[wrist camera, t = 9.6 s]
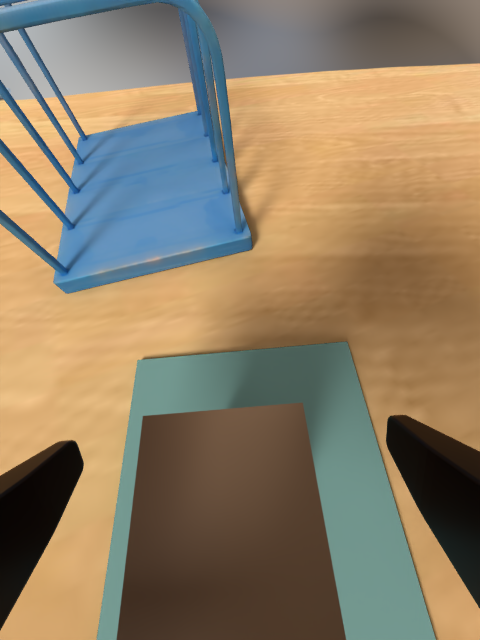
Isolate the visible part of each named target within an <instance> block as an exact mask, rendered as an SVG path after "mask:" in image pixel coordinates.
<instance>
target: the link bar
mask: <svg viewBox="0 0 480 640" xmlns="http://www.w3.org/2000/svg"><path fill="white" fill-rule="evenodd" d="M117 640H346V636H345V630H344V625H343V619H342V614H341V608H340V603H339V598H338V592H337V587H336V581H335V576H334V570H333V565H332V559H331V554H330V549H329V543H328V538H327V532H326V527H325V521H324V516H323V510H322V505H321V499H320V494H319V489H318V483H317V478H316V472H315V467H314V461H313V456H312V450H311V445H310V439H309V434H308V429H307V423H306V418H305V412H304V407H303V403H291V404H279V405H267V406H255V407H244V408H232V409H220V410H208V411H196V412H184V413H172V414H160V415H148V416H143V419H142V427H141V436H140V444H139V453H138V461H137V470H136V478H135V487H134V495H133V504H132V512H131V521H130V529H129V538H128V546H127V555H126V563H125V572H124V580H123V589H122V597H121V606H120V614H119V623H118V631H117Z"/></svg>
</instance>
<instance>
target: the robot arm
mask: <svg viewBox="0 0 480 640" xmlns="http://www.w3.org/2000/svg"><path fill="white" fill-rule="evenodd" d="M386 443H387V447H388V450H389V452H390V454H391V456H392V458H393V460H394V462H395V464H396V465H397V467H398V469H399V471H400V473H401V475H402V477H403V479H404V481H405V483H406V485H407V487H408V489H409V491H410V493H411V495H412V497H413V499H414V501H415V503H416V505H417V507H418V509H419V510H420V512H421V514H422V515H423V517H424V519H425V521H426V522H427V524H428V525H429V527H430V529H431V530H432V532H433V534H434V535H435V537H436V538H437V540H438V542H439V543H440V545H441V547H442V548H443V550H444V551H445V553H446V555H447V556H448V558H449V560H450V561H451V563H452V564H453V566H454V568H455V569H456V571H457V572H458V574H459V576H460V577H461V579H462V581H463V582H464V584H465V585H466V587H467V589H468V590H469V592H470V594H471V595H472V597H473V598H474V600H475V602H476V603H477V605H478V607H479V608H480V452H479V451H477V450H475V449H473V448H471V447H469V446H467V445H465V444H463V443H461V442H459V441H457V440H455V439H453V438H451V437H449V436H447V435H445V434H443V433H441V432H439V431H437V430H435V429H433V428H431V427H429V426H427V425H425V424H423V423H421V422H419V421H417V420H415V419H413V418H411V417H409V416H406V415H394V416H390V417H389V418H388V421H387V435H386ZM83 466H84V463H83V459H82V456H81V453H80V450H79V448H78V445H77V443H76V442H75V441H73V440H68V441H60V442H57V443H55V444H54V445H52V446H50V447H49V448H47V449H45V450H43V451H42V452H40V453H38V454H37V455H35V456H33V457H31V458H30V459H28V460H26V461H25V462H23V463H21V464H20V465H18V466H16V467H14V468H13V469H11V470H9V471H8V472H6V473H4V474H2V475H1V476H0V630H1V628H2V626H3V625H4V623H5V621H6V619H7V617H8V616H9V614H10V612H11V610H12V608H13V607H14V605H15V603H16V601H17V599H18V597H19V596H20V594H21V592H22V590H23V588H24V587H25V585H26V583H27V581H28V579H29V577H30V576H31V574H32V572H33V570H34V568H35V567H36V565H37V563H38V561H39V559H40V558H41V556H42V554H43V552H44V550H45V548H46V547H47V545H48V543H49V541H50V539H51V537H52V535H53V534H54V532H55V529H56V527H57V525H58V523H59V521H60V519H61V517H62V515H63V512H64V510H65V508H66V506H67V504H68V502H69V499H70V497H71V495H72V493H73V491H74V488H75V486H76V484H77V482H78V480H79V478H80V475H81V473H82V471H83Z"/></svg>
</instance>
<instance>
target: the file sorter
mask: <svg viewBox="0 0 480 640" xmlns="http://www.w3.org/2000/svg"><path fill="white" fill-rule="evenodd" d="M21 1H26V0H0V6H2V5H4V6H5V8H0V43H1V45H2V46H3V48H4V49H5V51H6V53H7V54H8V56H9V57H10V59H11V60H12V62H13V63H14V65H15V66H16V68H17V70H18V71H19V72H20V74H21V76H22V77H23V79H24V80H25V82H26V83H27V85H28V87H29V88H30V90H31V91H32V93H33V94H34V96H35V97H36V99H37V101H38V102H39V104H40V105H41V107H42V108H43V110H44V111H45V113H46V114H47V116H48V117H49V119H50V120H51V122H52V124H53V125H54V127H55V128H56V130H57V131H58V133H59V134H60V136H61V137H62V139H63V140H64V142H65V144H66V145H67V147H68V148H69V150H70V151H71V153H72V154H73V156H74V157H75V161H74V166H73V171H72V177H71V178H70V177H69V176H68V174H67V173H66V172H65V170H64V169H63V167H62V166H61V165H60V163H59V162H58V160H57V159H56V158H55V156H54V155H53V154H52V152H51V151H50V149H49V148H48V147H47V145H46V144H45V142H44V141H43V139H42V138H41V137H40V135H39V134H38V133H37V131H36V130H35V129H34V127H33V126H32V124H31V123H30V121H29V120H28V119H27V117H26V116H25V115H24V113H23V112H22V110H21V109H20V108H19V106H18V105H17V103H16V102H15V100H14V99H13V98H12V96H11V94H10V93H9V92H8V90H7V89H6V87H5V86H4V85H3V83H2V82H1V80H0V95H1V96H2V97H3V99H4V100H5V101H6V103H7V104H8V106H9V107H10V108H11V110H12V111H13V112H14V114H15V115H16V116H17V118H18V119H19V120H20V122H21V123H22V124H23V126H24V127H25V128H26V130H27V131H28V132H29V134H30V135H31V136H32V138H33V139H34V140H35V142H36V143H37V144H38V146H39V147H40V148H41V150H42V151H43V152H44V154H45V155H46V156H47V158H48V159H49V160H50V162H51V163H52V164H53V166H54V167H55V168H56V170H57V171H58V172H59V174H60V175H61V176H62V178H63V179H64V180H65V182H66V183H67V184H68V186H69V187H70V188H69V193H68V199H67V205H66V210H65V214H64V213H63V212H62V211H61V210H60V208H59V207H58V206H57V205H56V204H55V202H54V201H53V200H52V199H51V198H50V197H49V196H48V194H47V193H46V192H45V191H44V189H43V188H42V187H41V186H40V185H39V184H38V182H37V181H36V180H35V179H34V178H33V176H32V175H31V174H30V173H29V172H28V171H27V170H26V168H25V167H24V166H23V165H22V163H21V162H20V161H19V160H18V159H17V158H16V157H15V155H14V154H13V153H12V152H11V151H10V150H9V148H8V147H7V146H6V145H5V144H4V142H3V141H2V140H1V139H0V153H1V154H2V155H3V156H4V157H5V158H6V159H7V161H8V162H9V163H10V164H11V165H12V166H13V167H14V168H15V170H16V171H17V172H18V173H19V174H20V175H21V176H22V177H23V179H24V180H25V181H26V182H27V183H28V184H29V185H30V186H31V188H32V189H33V190H34V191H35V192H36V193H37V194H38V196H39V197H40V198H41V199H42V200H43V201H44V202H45V203H46V205H47V206H48V207H49V208H50V209H51V210H52V211H53V212H54V213H55V215H56V216H57V217H58V218H59V219H60V220H61V221H62V222H63V228H62V234H61V240H60V246H59V252H58V257H57V260H56V259H55V258H54V257H53V256H52V255H50V254H49V253H48V252H47V251H46V250H45V249H44V248H43V247H41V246H40V245H39V244H38V243H37V242H36V241H35V240H34V239H33V238H32V237H30V236H29V235H28V234H27V233H26V232H25V231H24V230H22V229H21V228H20V227H19V226H18V225H17V224H16V223H15V222H13V221H12V220H11V219H10V218H9V217H8V216H7V215H6V214H5V213H3V212H2V211H1V210H0V224H1V225H2V226H4V227H5V228H6V229H7V230H8V231H10V232H11V233H12V234H13V235H14V236H16V237H17V238H18V239H19V240H20V241H21V242H23V243H24V244H25V245H26V246H28V247H29V248H30V249H31V250H32V251H33V252H35V253H36V254H37V255H38V256H40V257H41V258H42V259H43V260H44V261H45V262H47V263H48V264H49V265H50V266H51V267H53V268H54V269H55V275H54V281H53V282H54V284H56V285H57V286H58V287H59V288H60V289H61V290H63V291H64V292H65V293H72V292H76V291H80V290H84V289H88V288H92V287H96V286H100V285H104V284H109V283H113V282H117V281H121V280H126V279H130V278H134V277H138V276H142V275H146V274H151V273H155V272H159V271H163V270H167V269H171V268H176V267H180V266H184V265H188V264H192V263H196V262H201V261H205V260H209V259H213V258H217V257H222V256H226V255H230V254H234V253H239V252H243V251H247V250H251V249H252V238H251V232H250V230H249V227H248V224H247V221H246V219H245V216H244V213H243V210H242V208H241V205H240V202H239V195H238V186H237V176H236V167H235V158H234V149H233V139H232V130H231V120H230V112H229V104H228V95H227V87H226V78H225V72H224V65H223V58H222V53H221V49H220V45H219V41H218V38H217V35H216V33H215V30H214V28H213V26H212V24H211V22H210V20H209V19H208V17H207V15H206V14H205V12H204V11H203V10H202V8H201V7H200V5H199V2H198V0H38V1H34V2H29V3H24V4H19V5H14V6H12V5H11V4H12V3H17V2H21ZM156 2H159V3H165V4H170V5H173V6H175V7H177V8H178V10H179V16H180V21H181V26H182V31H183V36H184V42H185V47H186V52H187V57H188V62H189V68H190V73H191V78H192V83H193V89H194V94H195V99H196V105H197V110H198V111H195V112H190V113H186V114H181V115H177V116H172V117H167V118H163V119H158V120H154V121H149V122H144V123H140V124H135V125H131V126H126V127H122V128H117V129H113V130H108V131H104V132H99V133H95V134H90V135H86V136H85V134H84V132H83V130H82V129H81V127H80V125H79V124H78V122H77V120H76V118H75V117H74V115H73V113H72V111H71V110H70V108H69V106H68V104H67V103H66V101H65V99H64V98H63V96H62V94H61V92H60V91H59V89H58V87H57V85H56V84H55V82H54V80H53V78H52V77H51V75H50V73H49V71H48V70H47V68H46V66H45V64H44V63H43V61H42V59H41V57H40V56H39V54H38V52H37V50H36V49H35V47H34V45H33V43H32V42H31V40H30V38H29V36H28V35H27V33H26V31H25V29H24V28H27V27H32V26H37V25H42V24H46V23H51V22H55V21H60V20H66V19H71V18H75V17H81V16H86V15H91V14H96V13H101V12H106V11H111V10H117V9H121V8H126V7H132V6H138V5H144V4H150V3H156ZM14 30H18V31H19V33H20V35H21V36H22V38H23V40H24V41H25V43H26V45H27V47H28V48H29V50H30V52H31V53H32V55H33V57H34V58H35V60H36V62H37V63H38V65H39V67H40V68H41V70H42V72H43V74H44V75H45V77H46V79H47V80H48V82H49V84H50V85H51V87H52V89H53V90H54V92H55V94H56V96H57V97H58V99H59V101H60V102H61V104H62V106H63V107H64V109H65V111H66V112H67V114H68V116H69V118H70V119H71V121H72V123H73V124H74V126H75V128H76V129H77V131H78V133H79V134H80V136H81V137H79V139H78V145H77V150H76V149H75V148H74V146H73V145H72V143H71V141H70V140H69V138H68V137H67V135H66V134H65V132H64V130H63V129H62V127H61V126H60V124H59V122H58V121H57V119H56V118H55V116H54V114H53V113H52V111H51V110H50V108H49V106H48V105H47V103H46V102H45V100H44V98H43V97H42V95H41V94H40V92H39V90H38V89H37V87H36V86H35V84H34V82H33V81H32V79H31V77H30V76H29V74H28V73H27V71H26V69H25V68H24V66H23V64H22V62H21V61H20V59H19V57H18V56H17V54H16V53H15V52H14V50H13V48H12V46H11V45H10V43H9V42H8V40H7V39H6V37H5V35H4V34H3V33H4V32H9V31H14ZM197 31H198V33H197ZM198 36H199V39H198ZM199 42H200V45H199ZM200 48H201V51H200ZM201 54H202V57H201ZM210 55H211V58H210ZM211 59H212V64H213V70H214V76H215V83H216V90H217V97H218V103H219V110H220V117H221V124H222V131H223V139H224V146H225V153H226V161H227V166H226V163H225V160H224V152H223V144H222V137H221V130H220V122H219V115H218V108H217V100H216V93H215V86H214V79H213V72H212V65H211ZM202 60H203V63H202ZM203 66H204V69H203ZM204 72H205V76H204ZM205 78H206V82H205ZM206 85H207V88H206ZM207 91H208V94H207ZM208 98H209V100H208ZM209 104H210V106H209ZM210 111H211V112H210ZM211 117H212V119H211ZM212 123H213V125H212ZM213 129H214V130H213Z"/></svg>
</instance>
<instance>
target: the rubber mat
mask: <svg viewBox="0 0 480 640" xmlns="http://www.w3.org/2000/svg"><path fill="white" fill-rule="evenodd" d="M291 403H303V407H304V412H305V418H306V423H307V429H308V434H309V439H310V445H311V450H312V456H313V461H314V467H315V472H316V478H317V483H318V489H319V494H320V499H321V505H322V510H323V516H324V521H325V527H326V532H327V538H328V543H329V549H330V554H331V559H332V565H333V570H334V576H335V581H336V587H337V592H338V598H339V603H340V608H341V614H342V619H343V625H344V630H345V636H346V640H436V639H435V635H434V632H433V628H432V625H431V622H430V618H429V615H428V612H427V608H426V605H425V602H424V598H423V595H422V591H421V588H420V585H419V581H418V578H417V575H416V571H415V568H414V565H413V561H412V558H411V554H410V551H409V548H408V544H407V541H406V538H405V534H404V531H403V528H402V524H401V521H400V517H399V514H398V511H397V507H396V504H395V501H394V497H393V494H392V491H391V487H390V484H389V481H388V477H387V474H386V470H385V467H384V464H383V460H382V457H381V454H380V450H379V447H378V444H377V440H376V437H375V433H374V430H373V427H372V423H371V420H370V417H369V413H368V410H367V407H366V403H365V400H364V396H363V393H362V390H361V386H360V383H359V380H358V376H357V373H356V370H355V366H354V363H353V360H352V356H351V353H350V349H349V346H348V343H347V342H336V343H325V344H313V345H302V346H291V347H280V348H268V349H257V350H246V351H234V352H223V353H212V354H201V355H189V356H178V357H167V358H155V359H144V360H138V361H137V368H136V375H135V382H134V389H133V395H132V402H131V409H130V416H129V423H128V429H127V436H126V443H125V450H124V457H123V463H122V470H121V477H120V484H119V491H118V498H117V504H116V511H115V518H114V525H113V532H112V538H111V545H110V552H109V559H108V566H107V573H106V579H105V586H104V593H103V600H102V607H101V613H100V620H99V627H98V634H97V640H117V631H118V623H119V614H120V606H121V597H122V589H123V580H124V572H125V563H126V555H127V546H128V538H129V529H130V521H131V512H132V504H133V495H134V487H135V478H136V470H137V461H138V453H139V444H140V436H141V427H142V419H143V416H148V415H160V414H172V413H184V412H196V411H208V410H220V409H232V408H244V407H255V406H267V405H279V404H291Z"/></svg>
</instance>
